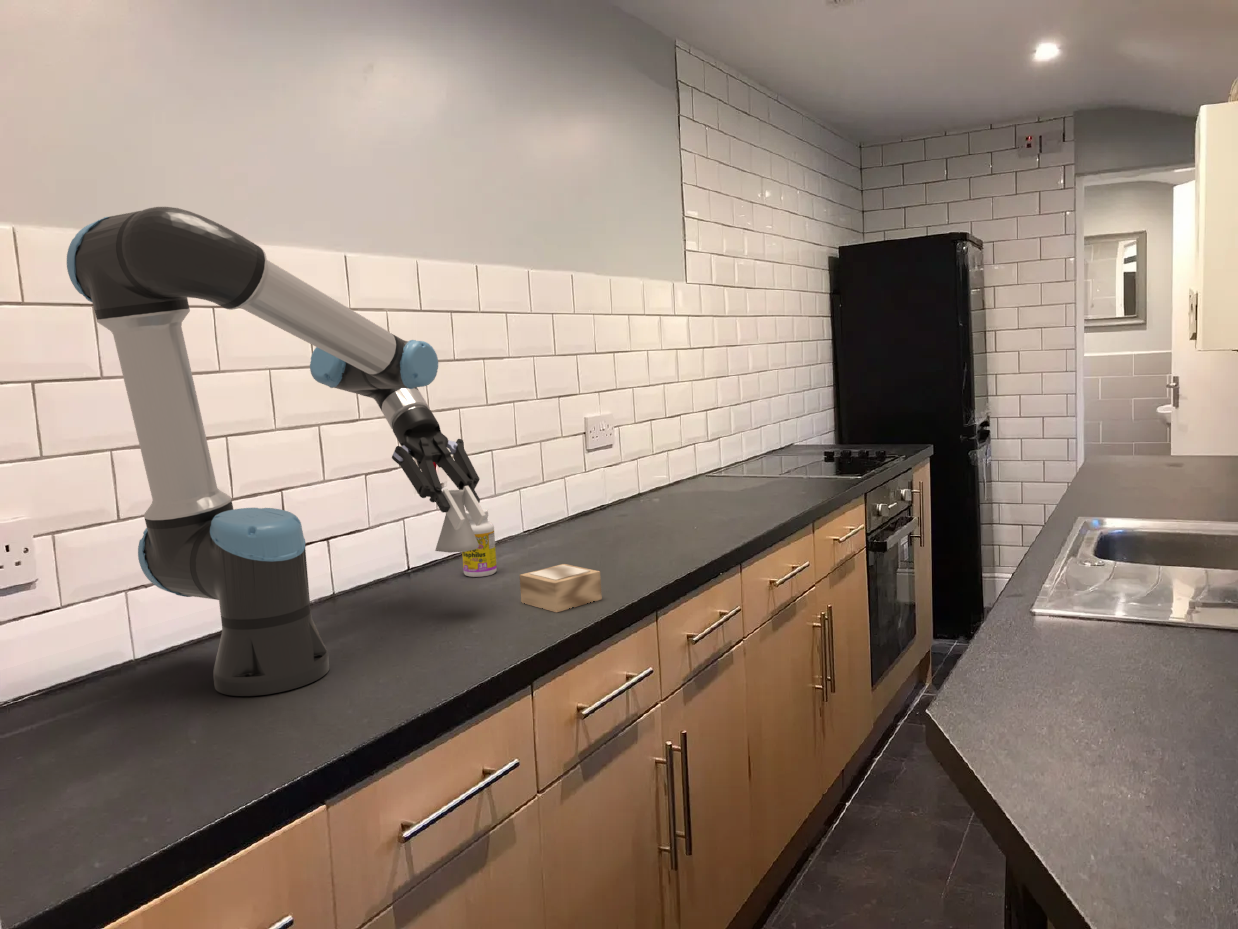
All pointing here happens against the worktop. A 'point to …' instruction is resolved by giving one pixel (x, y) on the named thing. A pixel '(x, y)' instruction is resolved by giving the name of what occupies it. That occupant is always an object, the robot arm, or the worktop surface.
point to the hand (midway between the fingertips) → (470, 522)
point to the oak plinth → (560, 587)
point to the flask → (457, 531)
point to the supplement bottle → (481, 550)
